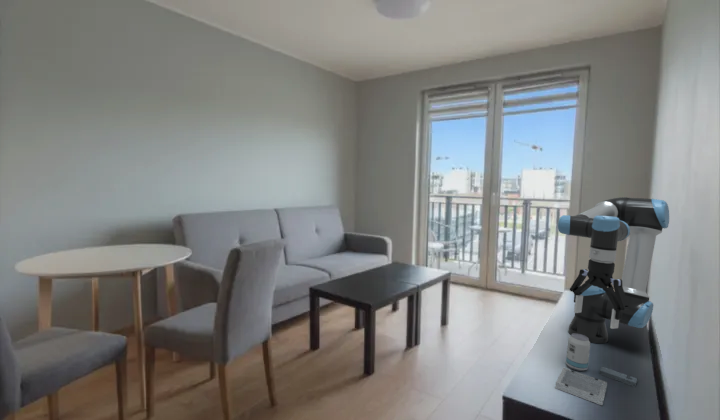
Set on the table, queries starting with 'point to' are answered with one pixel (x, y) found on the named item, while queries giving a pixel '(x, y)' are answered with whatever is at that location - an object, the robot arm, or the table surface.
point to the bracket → (618, 376)
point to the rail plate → (582, 386)
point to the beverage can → (578, 352)
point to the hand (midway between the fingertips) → (595, 319)
